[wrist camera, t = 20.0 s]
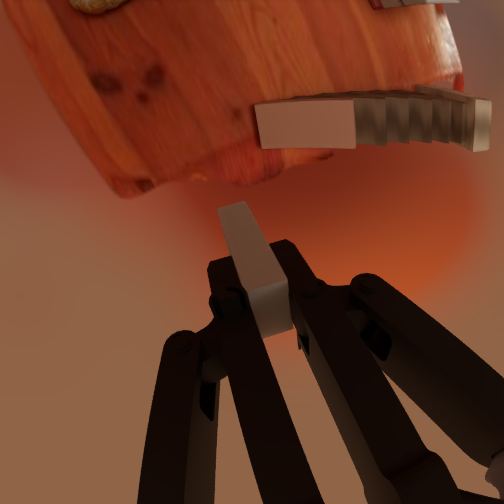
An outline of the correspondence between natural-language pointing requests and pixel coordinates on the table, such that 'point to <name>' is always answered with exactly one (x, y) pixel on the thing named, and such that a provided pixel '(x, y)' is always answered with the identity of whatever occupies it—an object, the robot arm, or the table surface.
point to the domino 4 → (415, 116)
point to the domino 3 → (390, 115)
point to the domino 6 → (452, 117)
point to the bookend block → (468, 115)
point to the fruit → (95, 5)
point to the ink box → (405, 3)
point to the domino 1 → (307, 123)
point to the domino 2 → (366, 118)
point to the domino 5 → (436, 116)
